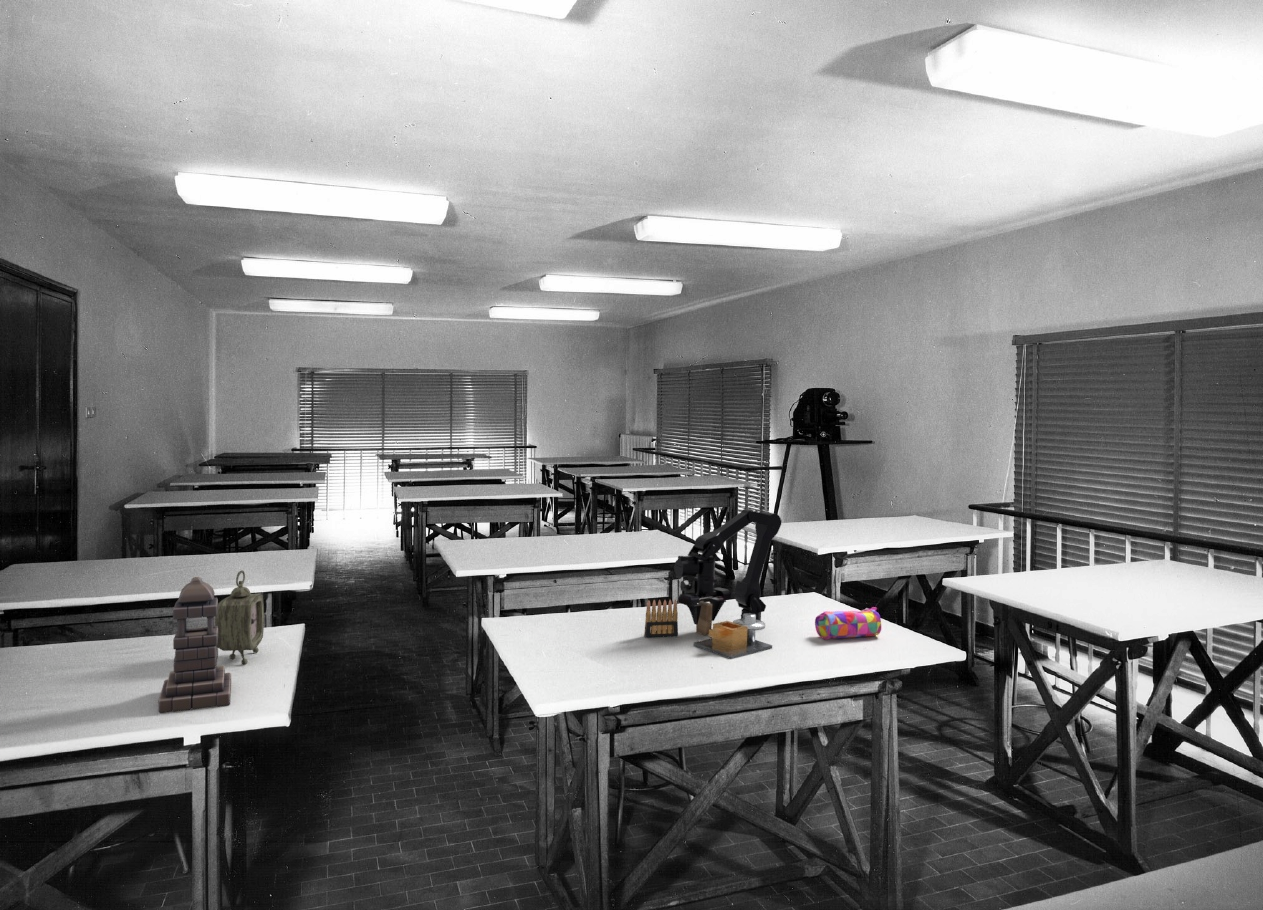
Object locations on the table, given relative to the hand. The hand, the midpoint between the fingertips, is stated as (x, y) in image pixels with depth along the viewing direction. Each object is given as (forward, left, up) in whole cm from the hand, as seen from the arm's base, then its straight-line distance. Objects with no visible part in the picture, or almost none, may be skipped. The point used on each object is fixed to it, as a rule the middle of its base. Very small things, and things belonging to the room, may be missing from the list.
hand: (704, 622), depth 267 cm
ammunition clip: (+14, -5, -4) cm, 15 cm away
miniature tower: (+143, -29, -4) cm, 146 cm away
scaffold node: (+1, +16, -4) cm, 16 cm away
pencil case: (-37, +29, -4) cm, 47 cm away
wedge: (0, 0, -4) cm, 4 cm away
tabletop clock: (+127, -55, -4) cm, 139 cm away
